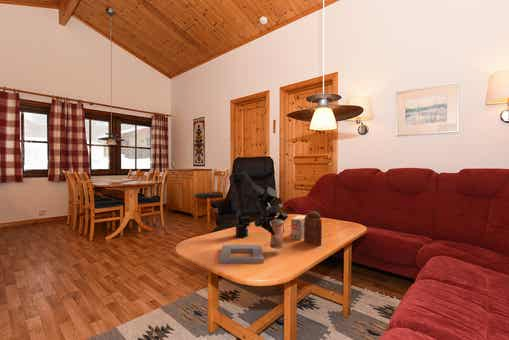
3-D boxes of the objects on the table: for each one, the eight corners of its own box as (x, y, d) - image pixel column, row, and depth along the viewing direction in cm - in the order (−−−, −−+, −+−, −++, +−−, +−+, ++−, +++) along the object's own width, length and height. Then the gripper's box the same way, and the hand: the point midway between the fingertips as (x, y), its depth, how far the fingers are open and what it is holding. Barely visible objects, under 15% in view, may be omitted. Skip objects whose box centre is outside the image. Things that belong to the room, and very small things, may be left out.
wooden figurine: (325, 243, 142) (326, 212, 142) (319, 246, 137) (320, 213, 137) (307, 239, 150) (307, 209, 150) (301, 241, 146) (301, 210, 145)
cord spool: (267, 247, 126) (268, 221, 126) (273, 243, 132) (274, 218, 132) (280, 249, 123) (281, 223, 122) (285, 245, 129) (286, 220, 128)
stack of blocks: (302, 230, 170) (302, 212, 169) (311, 232, 167) (311, 213, 166) (290, 238, 151) (291, 218, 151) (300, 240, 148) (301, 219, 148)
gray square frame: (222, 248, 132) (222, 245, 132) (260, 248, 133) (260, 244, 133) (219, 263, 113) (219, 258, 113) (263, 262, 114) (263, 258, 114)
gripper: (258, 200, 124) (271, 227, 116) (286, 197, 135) (300, 222, 127) (248, 213, 131) (261, 240, 122) (276, 209, 142) (289, 234, 133)
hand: (278, 233), depth 126 cm, fingers closed on cord spool, 6 cm apart
